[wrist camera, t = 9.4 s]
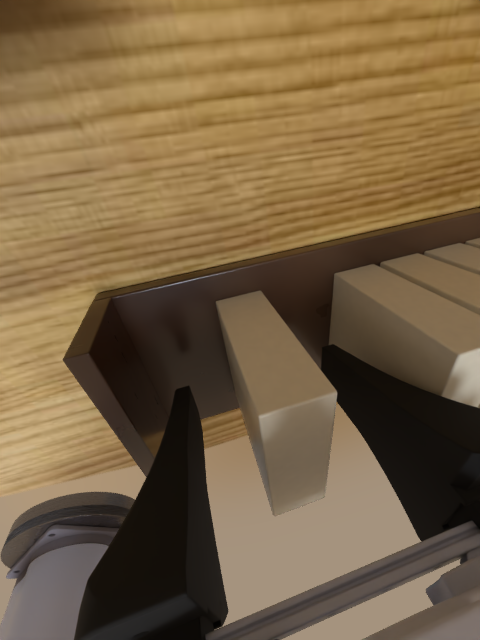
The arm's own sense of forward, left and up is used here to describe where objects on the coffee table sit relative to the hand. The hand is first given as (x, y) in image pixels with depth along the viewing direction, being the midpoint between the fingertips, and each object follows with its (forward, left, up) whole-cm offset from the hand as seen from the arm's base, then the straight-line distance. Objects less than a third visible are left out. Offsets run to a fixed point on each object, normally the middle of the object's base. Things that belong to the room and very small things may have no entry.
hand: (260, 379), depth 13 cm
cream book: (0, 0, -2) cm, 3 cm away
